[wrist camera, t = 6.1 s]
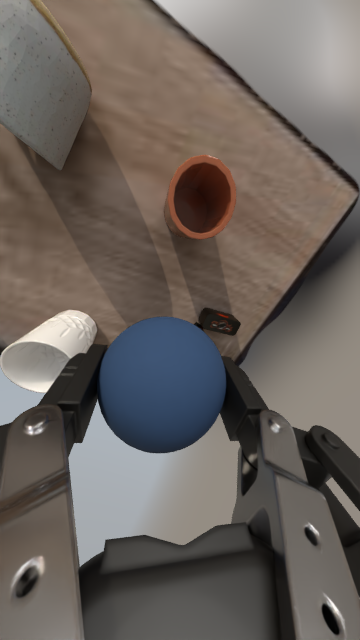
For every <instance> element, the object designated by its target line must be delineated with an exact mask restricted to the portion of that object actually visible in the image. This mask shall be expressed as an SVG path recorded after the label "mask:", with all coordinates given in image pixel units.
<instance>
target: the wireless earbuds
mask: <svg viewBox="0 0 360 640" xmlns="http://www.w3.org/2000/svg"><path fill="white" fill-rule="evenodd" d="M199 320H200V322H201V324H202V325H200V324H199V323H197V322H196V323H195V324H194V325H195V326H197V327H198V328H200V329H201V330H202V331H203V328H204V329H208V330H212V331H216V332H220V333H224V334H228V335H232V336H233V335H235V334H236V333H237V331H238V329H239V327H240V325H241V324H240V322H239V321H238V320H237V319H236V318H235V317H234V316H233V315H231V314H227V313H224V312H220V311H217V310H213V309H210V308H203V310H202V312H201V315H200V317H199ZM202 326H203V327H202Z"/></svg>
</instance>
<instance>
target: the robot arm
mask: <svg viewBox="0 0 360 640" xmlns="http://www.w3.org/2000/svg"><path fill="white" fill-rule="evenodd" d="M107 350H108V347H107V345H98V344H92V345H91V346H90V348H89V349H88V351H87V353H78V354H76V355H75V356H73V357H72V358H71V359H70V360H69V361H68V362H67V364H66V365H65V367H64V369H63V370H62V371H61V372H60V375H58V377H57V378H56V380H55V381H54V382H53V384H52V385H51V387H50V388H49V390H48V391H47V392H46V394H45V395H44V397H43V399H42V400H41V401H40V403H39V404H38V405H37V406H35V407H33V408H31V409H29V410H27V411H25V412H23V413H22V414H21V415H19V416H18V417H17V418H16V419H15V420H14V421H13V422H11V423H9V424H5V425H2V426H0V640H360V599H359V597H360V528H359V527H358V525H357V524H356V523H355V522H354V520H353V519H352V518H351V516H350V515H349V514H348V512H347V511H346V510H345V508H344V507H343V506H342V504H341V503H340V502H339V501H338V499H337V498H336V496H335V495H334V494H333V493H332V491H331V490H330V489H329V487H328V486H327V485H326V482H327V481H328V480H329V479H330V478H331V477H333V479H334V480H335V481H336V482H337V484H338V485H339V486H340V487H341V489H342V490H343V491H344V492H345V494H346V495H347V496H348V497H349V499H350V500H351V501H352V502H353V503H354V504H355V506H356V507H357V508H358V510H359V511H360V458H359V457H358V456H357V455H356V454H355V453H354V452H353V451H352V450H351V449H350V448H349V447H348V446H347V445H346V444H345V443H344V442H343V441H342V440H341V439H340V438H339V437H338V436H337V435H335V434H334V433H333V432H331V431H330V430H328V429H326V428H324V427H322V426H317V425H315V426H313V427H312V428H311V429H310V430H309V431H308V432H306V431H303V430H300V429H297V428H294V427H291V425H290V424H289V422H288V421H287V420H286V419H285V418H284V417H283V416H281V415H280V414H279V413H277V412H275V411H272V410H269V409H268V407H267V406H266V404H265V403H264V401H263V399H262V398H261V396H260V395H259V393H258V392H257V390H256V389H255V388H254V387H253V384H252V383H251V381H249V378H248V376H247V375H246V373H245V372H244V371H243V370H242V369H241V368H239V367H238V366H236V365H235V363H234V362H233V360H232V359H231V358H230V357H225V356H221V358H222V360H223V363H224V368H225V373H226V392H225V398H224V402H223V405H222V408H221V411H220V414H221V417H222V420H223V423H224V425H225V428H226V431H227V434H228V436H229V439H230V441H239V443H240V445H241V446H240V448H239V451H238V475H237V476H238V477H237V499H236V504H235V508H234V511H233V515H232V522H231V524H226V525H218V526H215V527H213V528H212V529H210V530H209V531H207V532H205V533H203V534H202V535H200V536H199V537H197V538H196V539H194V540H193V541H191V542H189V543H187V544H186V545H178V544H174V543H171V542H167V541H164V540H160V539H157V538H153V537H150V536H147V535H140V536H133V537H124V538H117V539H109V540H106V541H105V548H104V551H103V552H101V553H100V554H98V555H96V556H94V557H93V558H91V559H90V560H89V561H87V562H86V563H84V564H83V565H82V566H81V567H80V566H79V556H78V546H77V537H76V527H75V519H74V510H73V500H72V490H71V480H70V472H69V461H68V457H69V454H70V452H71V449H72V447H73V444H74V443H82V442H83V438H84V436H85V433H86V430H87V428H88V425H89V422H90V419H91V416H92V413H93V411H94V408H95V405H96V402H97V399H98V395H97V380H98V373H99V369H100V365H101V362H102V359H103V357H104V355H105V353H106V351H107ZM358 595H359V596H358Z"/></svg>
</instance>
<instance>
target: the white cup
mask: <svg viewBox="0 0 360 640" xmlns="http://www.w3.org/2000/svg"><path fill="white" fill-rule="evenodd" d="M96 334H97V327H96V324H95V322H94V321H93V320H92V319H91V317H90V316H89V315H87V314H85V313H83V312H81V311H75V310H67V311H64V312H60V313H59V314H57V315H56V316H54V317H53V318H51V319H49V320H47V321H46V322H44V323H43V324H41V325H39V326H38V327H36V328H35V329H33V330H32V331H30V332H29V333H27V334H26V335H24V336H23V337H22V338H20V339H19V340H17V341H16V342H14V343H13V344H11V345H10V346H8V347H7V348H6V349H5V350H4V351H3V352H2V354H1V357H0V366H1V369H2V371H3V373H4V374H5V375H6V377H7V378H8V379H9V380H11V381H12V382H13V383H15V384H16V385H18V386H20V387H22V388H24V389H27V390H30V391H33V392H39V393H46V392H47V391H48V390H49V388H50V387H51V385H52V384H53V382H54V381H55V380H56V378H57V377H58V375H60V372H61V371H62V370H63V369H64V367H65V365H66V364H67V362H68V361H69V360H70V359H71V358H72V357H73V356H75V355H76V354H78V353H87V351H88V349H89V348H90V346H91V345H92V344H93V342H94V340H95V338H96Z"/></svg>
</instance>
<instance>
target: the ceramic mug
mask: <svg viewBox="0 0 360 640" xmlns="http://www.w3.org/2000/svg"><path fill="white" fill-rule="evenodd" d="M91 93H92V89H91V84H90V80H89V77H88V74H87V71H86V69H85V67H84V65H83V63H82V61H81V59H80V57H79V55H78V54H77V52H76V50H75V49H74V47H73V45H72V43H71V42H70V40H69V39H68V37H67V36H66V34H65V33H64V31H63V30H62V28H61V27H60V25H59V24H58V23H57V21H56V20H55V18H54V17H53V16H52V14H51V13H50V12H49V10H48V9H47V8H46V6H45V5H44V4H43V3H42V1H41V0H0V123H1V124H2V125H3V126H5V127H6V128H7V129H8V130H9V131H10V132H12V133H13V134H14V135H15V136H17V137H18V138H19V139H20V140H22V141H23V142H24V143H26V144H27V145H28V146H30V147H31V148H32V149H33V150H34V151H35V152H37V153H38V154H39V155H41V156H42V157H43V158H44V159H46V160H47V161H48V162H49V163H51V164H52V165H53V166H54V167H56V168H57V169H58V170H61V169H62V168H63V166H64V163H65V161H66V158H67V156H68V154H69V152H70V150H71V147H72V145H73V143H74V140H75V138H76V135H77V133H78V131H79V128H80V126H81V124H82V122H83V120H84V118H85V116H86V113H87V110H88V107H89V103H90V98H91Z"/></svg>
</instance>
